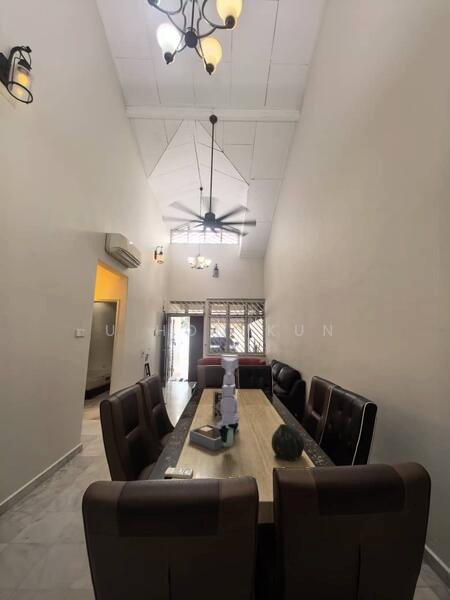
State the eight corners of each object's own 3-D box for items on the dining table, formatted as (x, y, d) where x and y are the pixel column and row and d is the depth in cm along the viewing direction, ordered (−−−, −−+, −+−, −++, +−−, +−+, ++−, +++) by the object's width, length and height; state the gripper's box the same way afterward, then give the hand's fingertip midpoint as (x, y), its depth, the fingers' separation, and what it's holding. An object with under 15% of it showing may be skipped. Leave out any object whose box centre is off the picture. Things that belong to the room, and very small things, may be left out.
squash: (315, 445, 121) (294, 415, 128) (300, 458, 110) (278, 424, 117) (294, 459, 127) (275, 429, 135) (278, 472, 116) (259, 439, 123)
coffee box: (214, 418, 171) (215, 393, 173) (212, 415, 177) (212, 391, 179) (227, 418, 173) (228, 392, 175) (225, 414, 179) (225, 390, 181)
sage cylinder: (227, 440, 128) (227, 426, 129) (235, 444, 125) (235, 428, 126) (220, 444, 124) (220, 428, 125) (228, 447, 121) (228, 431, 122)
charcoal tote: (189, 440, 136) (189, 430, 136) (207, 433, 146) (207, 424, 147) (214, 451, 124) (214, 440, 125) (232, 442, 135) (232, 432, 135)
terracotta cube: (205, 436, 141) (205, 426, 142) (212, 438, 138) (212, 428, 139) (198, 438, 137) (199, 428, 138) (205, 441, 134) (205, 431, 135)
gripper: (224, 416, 118) (224, 447, 117) (244, 409, 129) (243, 438, 128) (213, 412, 123) (212, 443, 121) (232, 406, 134) (232, 434, 132)
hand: (227, 440), depth 125 cm, fingers closed on sage cylinder, 5 cm apart
